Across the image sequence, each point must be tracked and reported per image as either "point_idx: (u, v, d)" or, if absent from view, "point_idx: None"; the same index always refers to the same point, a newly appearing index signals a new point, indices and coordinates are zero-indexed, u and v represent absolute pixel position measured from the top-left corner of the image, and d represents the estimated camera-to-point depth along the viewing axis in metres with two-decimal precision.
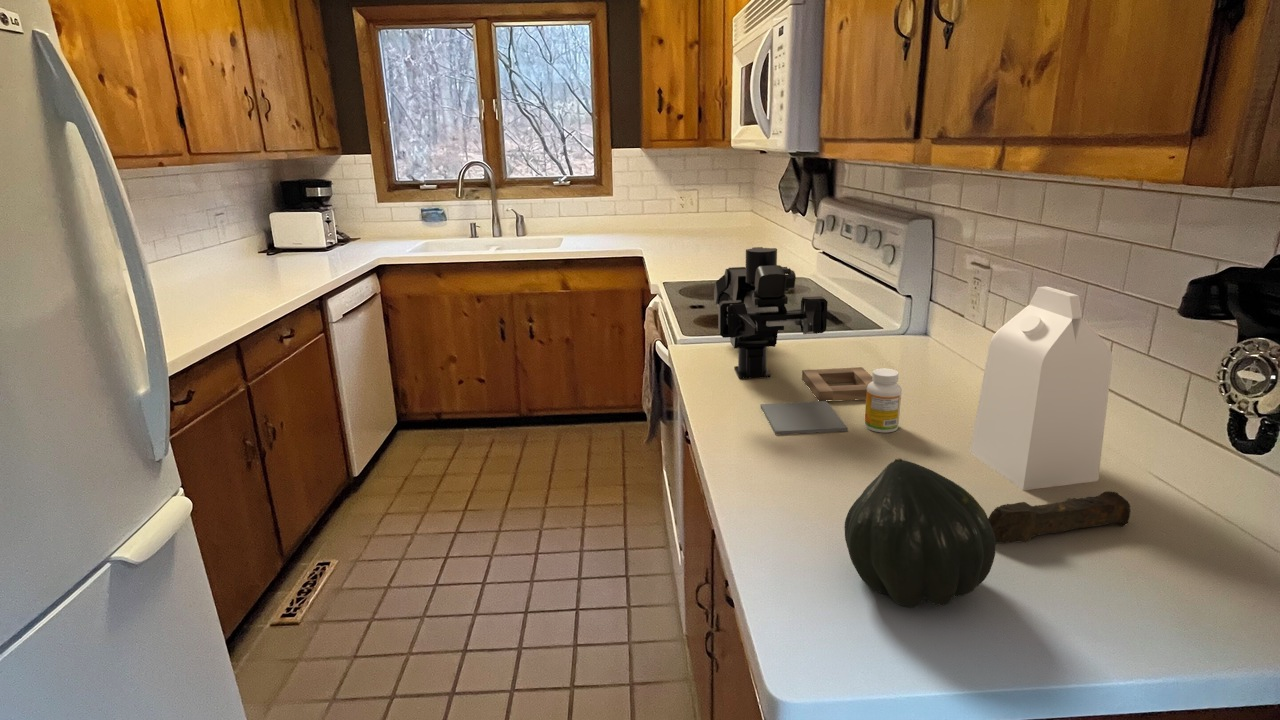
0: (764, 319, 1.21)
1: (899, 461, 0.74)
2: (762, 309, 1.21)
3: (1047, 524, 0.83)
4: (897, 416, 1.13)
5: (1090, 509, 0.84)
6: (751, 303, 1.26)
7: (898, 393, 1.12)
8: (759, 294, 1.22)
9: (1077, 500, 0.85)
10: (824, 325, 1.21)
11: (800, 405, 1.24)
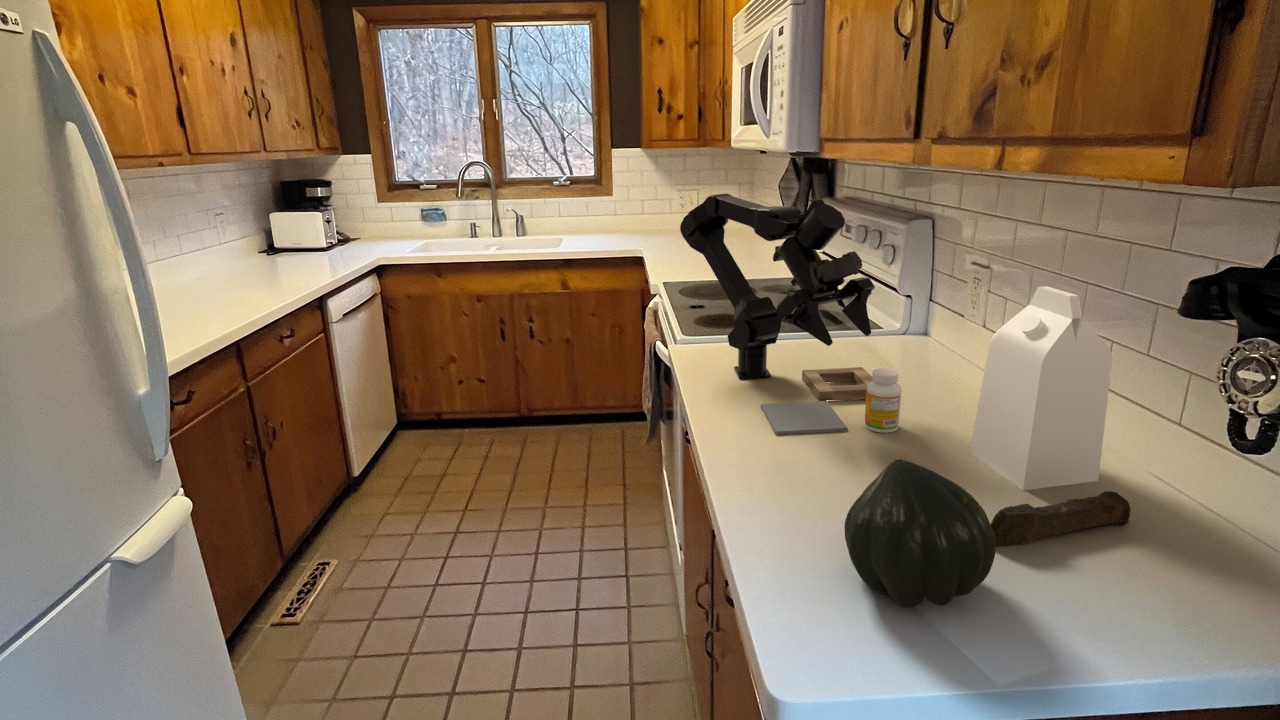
0: (820, 304, 1.20)
1: (899, 461, 0.74)
2: (822, 295, 1.19)
3: (1050, 525, 0.83)
4: (897, 416, 1.13)
5: (1092, 510, 0.84)
6: (803, 271, 1.21)
7: (898, 393, 1.12)
8: (825, 281, 1.17)
9: (1078, 501, 0.85)
10: None
11: (800, 405, 1.24)
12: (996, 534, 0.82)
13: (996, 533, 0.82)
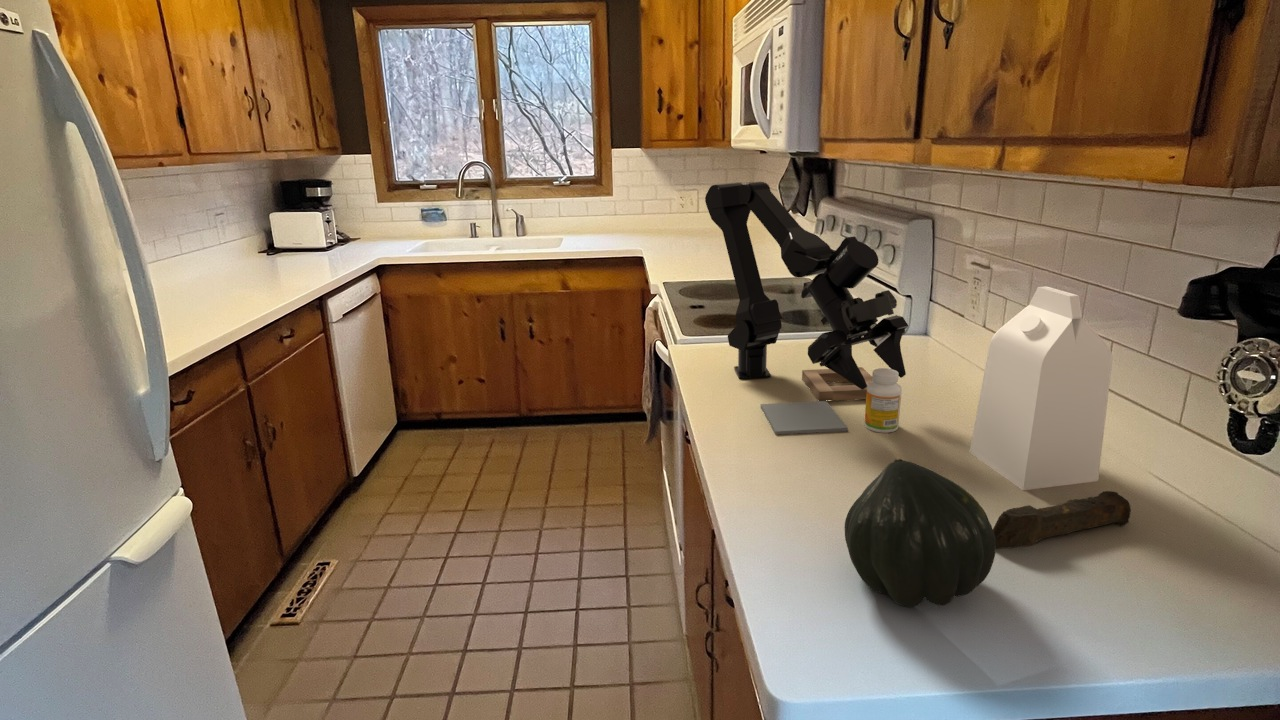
0: (852, 344, 1.16)
1: (899, 461, 0.74)
2: (855, 336, 1.15)
3: (1052, 526, 0.82)
4: (897, 416, 1.13)
5: (1093, 510, 0.84)
6: (834, 310, 1.16)
7: (898, 393, 1.12)
8: (858, 321, 1.13)
9: (1079, 501, 0.85)
10: None
11: (800, 405, 1.24)
12: (1000, 536, 0.81)
13: (1000, 535, 0.81)
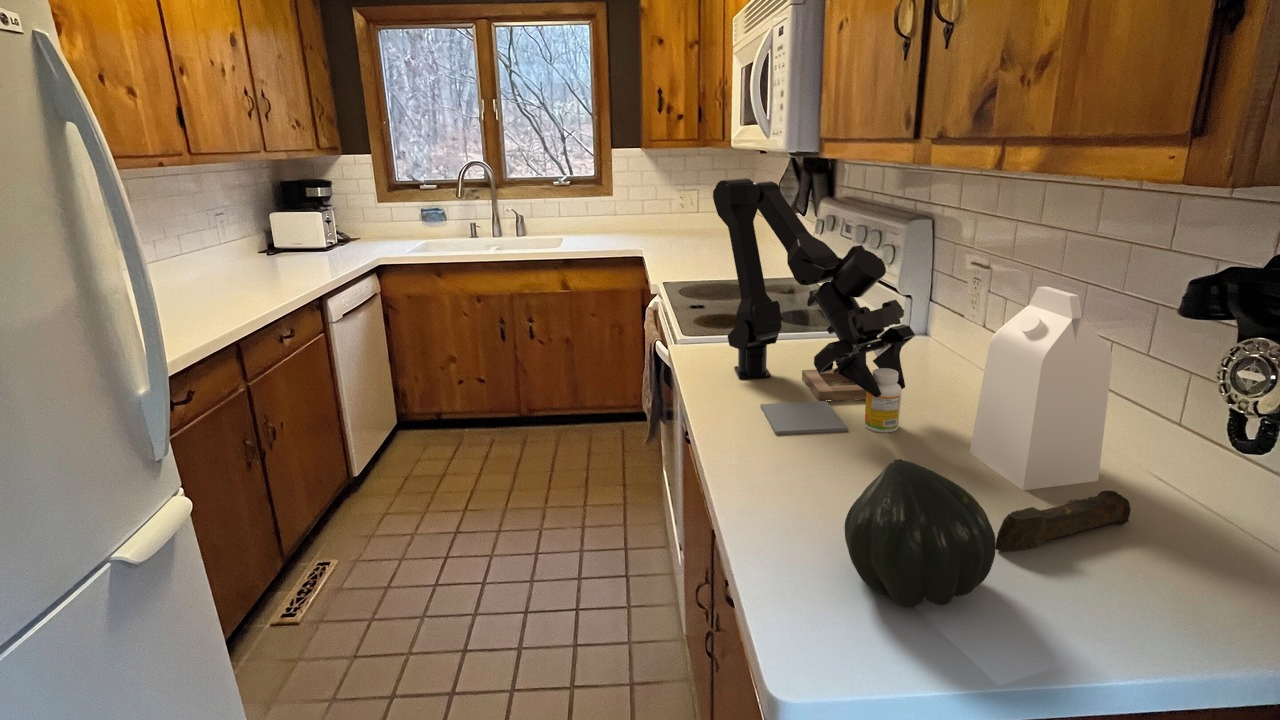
0: None
1: (899, 461, 0.74)
2: (862, 345, 1.14)
3: (1056, 528, 0.82)
4: (897, 416, 1.13)
5: (1094, 510, 0.84)
6: (840, 319, 1.15)
7: (898, 393, 1.12)
8: None
9: (1080, 501, 0.85)
10: None
11: (800, 405, 1.24)
12: (1005, 540, 0.81)
13: (1005, 539, 0.81)
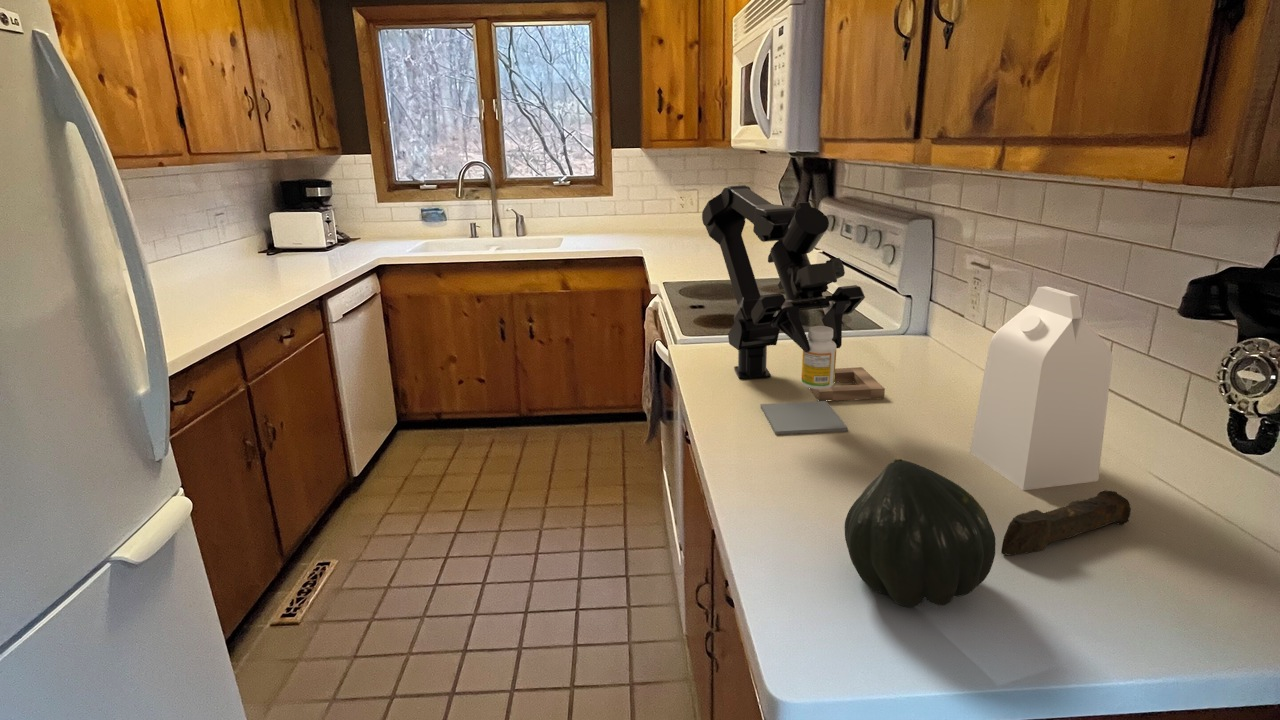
0: (800, 310, 1.17)
1: (899, 461, 0.74)
2: (801, 301, 1.16)
3: (1060, 530, 0.81)
4: (829, 374, 1.14)
5: (1096, 511, 0.83)
6: (786, 275, 1.18)
7: (829, 350, 1.13)
8: (802, 287, 1.14)
9: (1082, 502, 0.85)
10: (852, 310, 1.21)
11: (800, 405, 1.24)
12: (1011, 543, 0.80)
13: (1011, 543, 0.80)
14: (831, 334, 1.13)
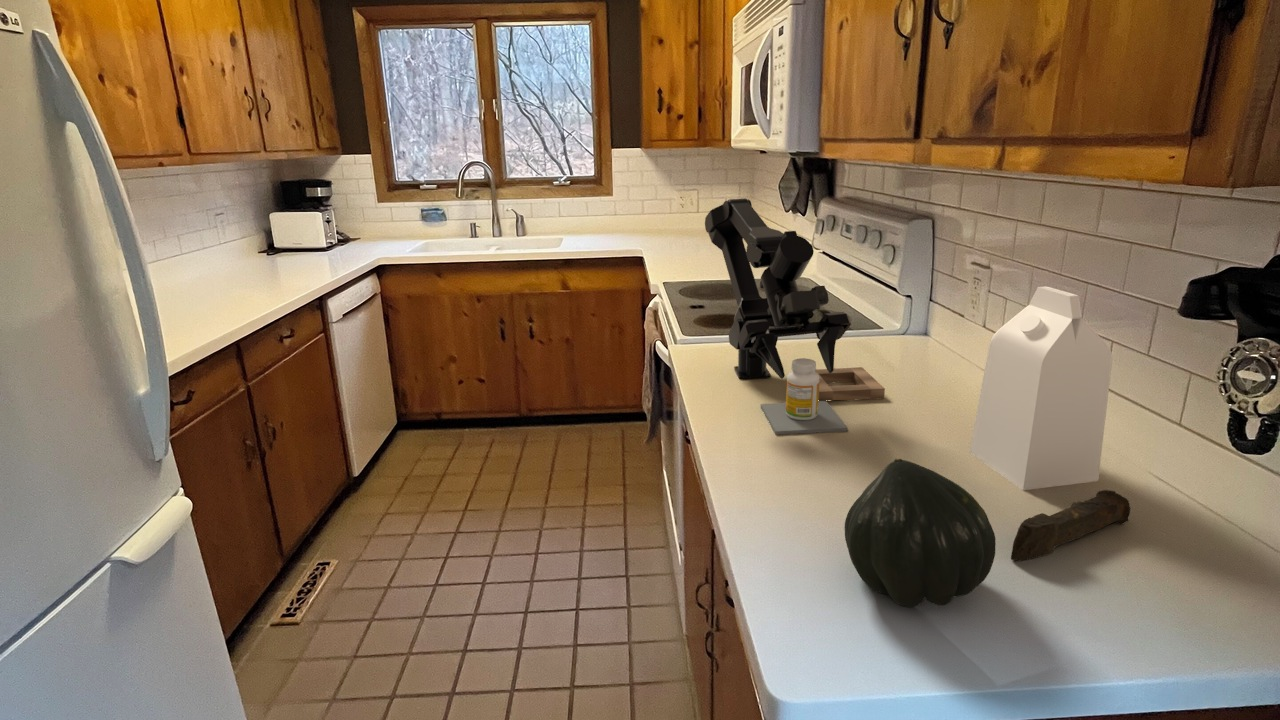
0: (786, 335, 1.20)
1: (899, 461, 0.74)
2: (786, 327, 1.18)
3: (1067, 533, 0.81)
4: (811, 406, 1.17)
5: (1099, 512, 0.83)
6: (773, 301, 1.21)
7: (811, 383, 1.16)
8: (787, 313, 1.17)
9: (1083, 504, 0.84)
10: (840, 336, 1.23)
11: None
12: (1021, 549, 0.79)
13: (1021, 548, 0.79)
14: (813, 367, 1.16)
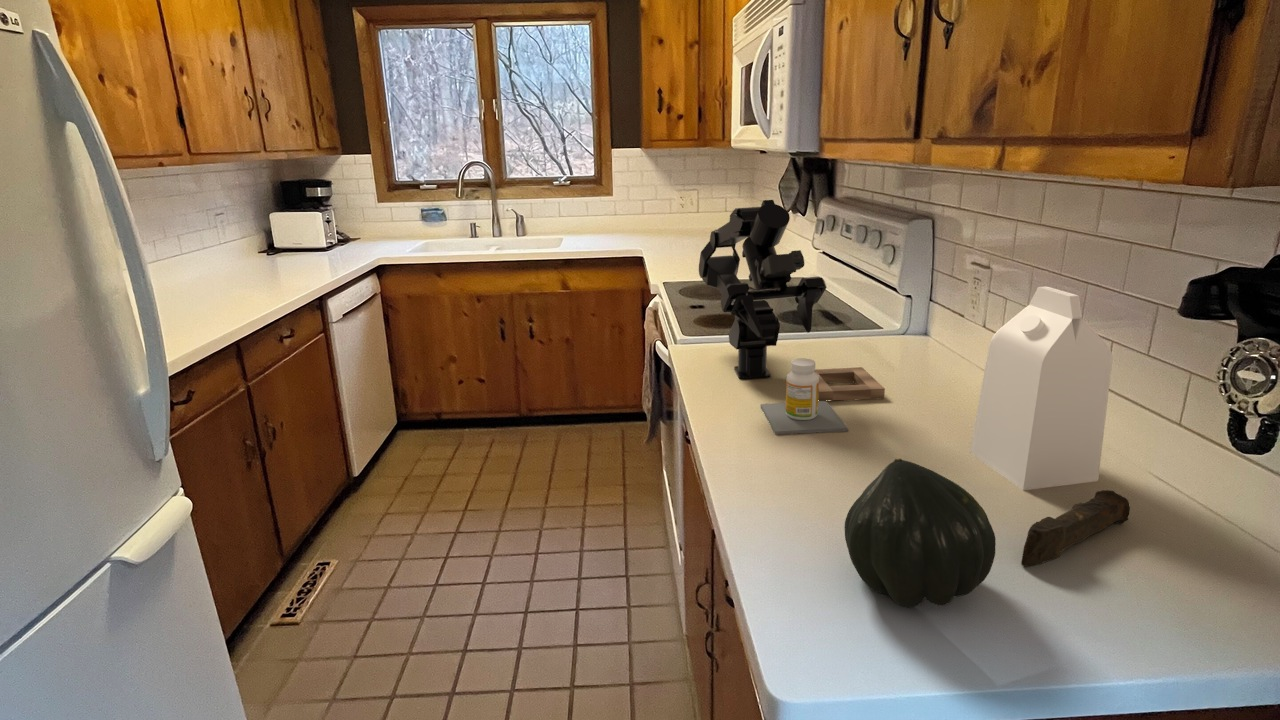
0: (765, 298, 1.27)
1: (899, 461, 0.74)
2: (765, 290, 1.26)
3: (1073, 536, 0.80)
4: (811, 405, 1.17)
5: (1102, 513, 0.83)
6: (753, 267, 1.28)
7: (810, 383, 1.16)
8: (766, 276, 1.25)
9: (1086, 505, 0.84)
10: (817, 300, 1.30)
11: None
12: (1031, 554, 0.78)
13: (1032, 553, 0.78)
14: (812, 367, 1.16)
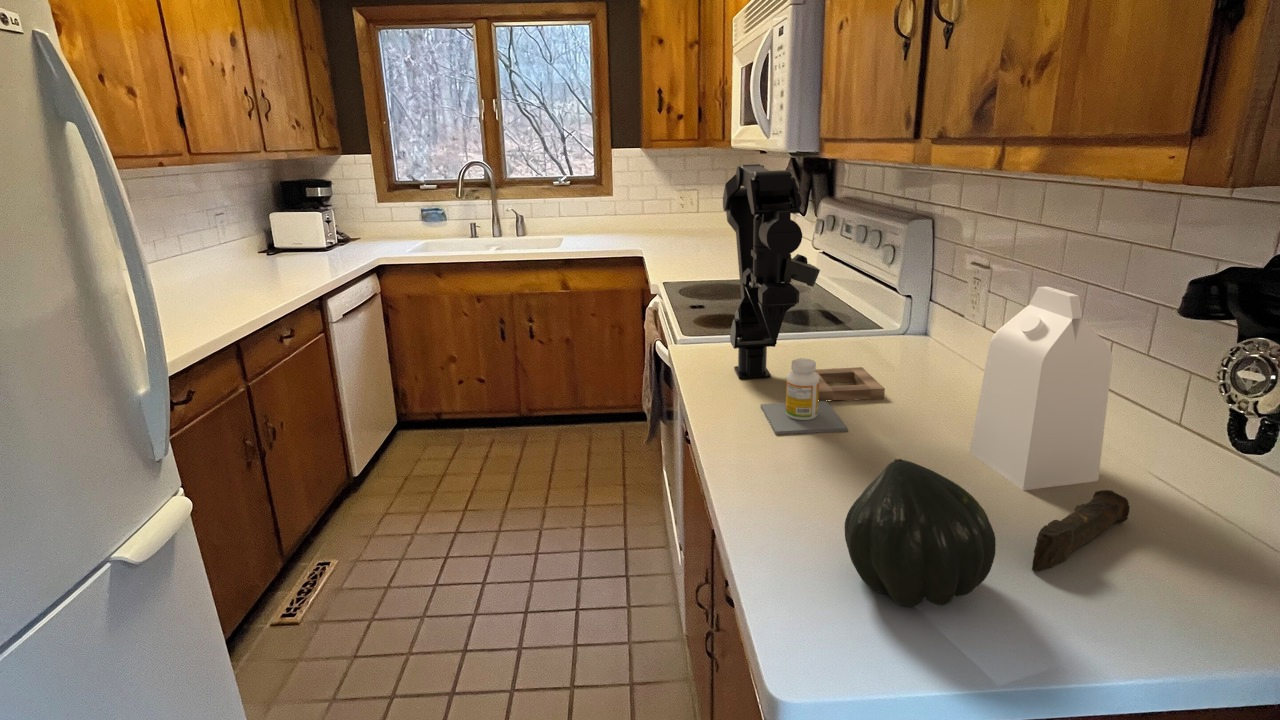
0: None
1: (899, 461, 0.74)
2: None
3: (1080, 538, 0.80)
4: (811, 406, 1.17)
5: (1104, 513, 0.83)
6: (779, 256, 1.19)
7: (811, 383, 1.16)
8: (793, 279, 1.21)
9: (1088, 506, 0.84)
10: None
11: None
12: (1042, 559, 0.77)
13: (1042, 558, 0.77)
14: (813, 367, 1.16)
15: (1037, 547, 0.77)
